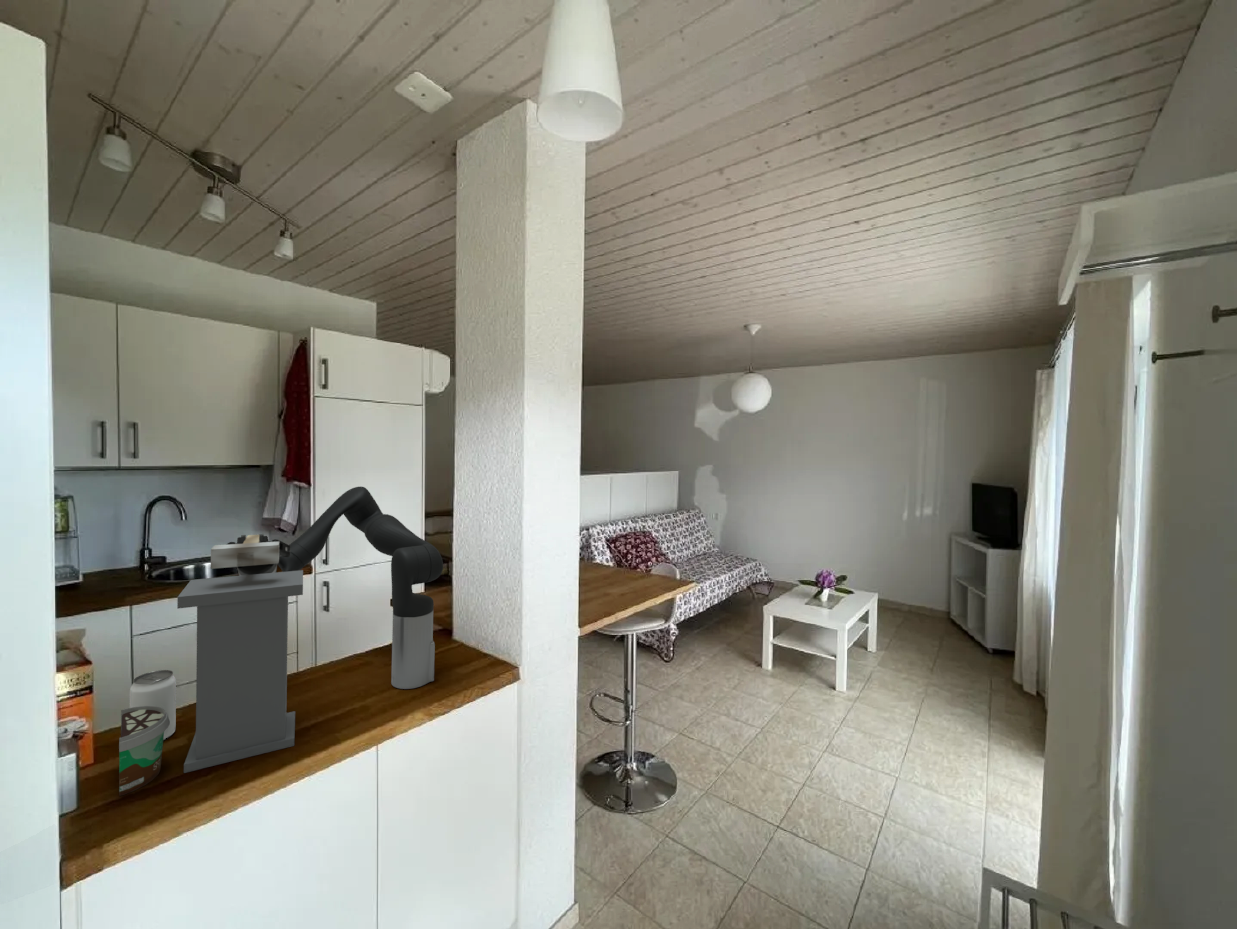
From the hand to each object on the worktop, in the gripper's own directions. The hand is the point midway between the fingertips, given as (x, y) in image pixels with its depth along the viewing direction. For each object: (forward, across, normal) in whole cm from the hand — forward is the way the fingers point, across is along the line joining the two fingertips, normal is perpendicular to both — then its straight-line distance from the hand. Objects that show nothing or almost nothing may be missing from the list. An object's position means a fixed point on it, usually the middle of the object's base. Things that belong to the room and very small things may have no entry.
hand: (252, 538), depth 102 cm
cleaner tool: (+2, 0, -4) cm, 4 cm away
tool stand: (-10, 0, -38) cm, 39 cm away
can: (-18, +15, -33) cm, 40 cm away
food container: (-7, +14, -39) cm, 42 cm away
